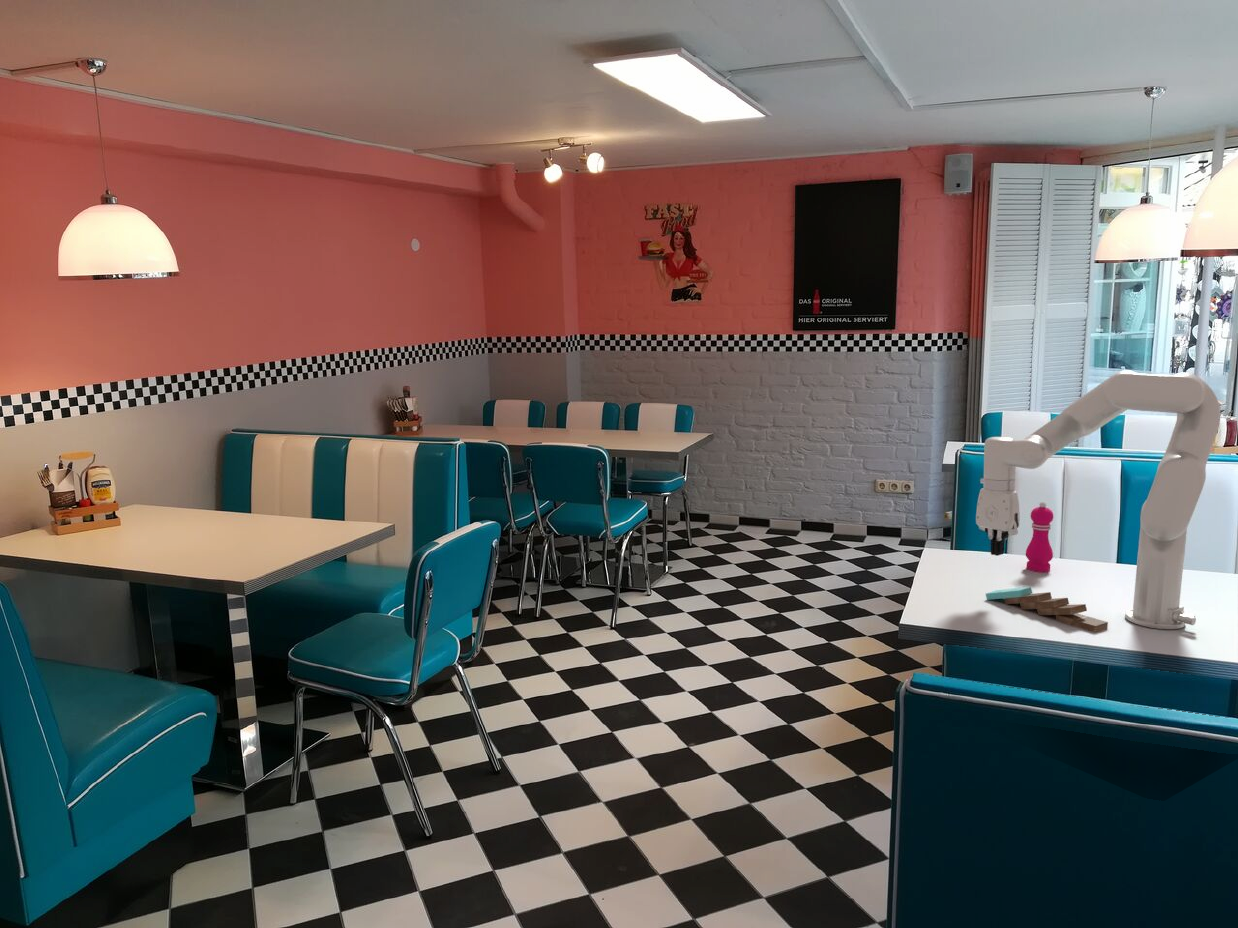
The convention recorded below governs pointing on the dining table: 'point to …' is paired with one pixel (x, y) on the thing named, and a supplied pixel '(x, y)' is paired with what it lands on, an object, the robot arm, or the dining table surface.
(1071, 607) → the domino
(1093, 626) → the domino
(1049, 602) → the domino
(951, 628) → the dining table surface
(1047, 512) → the pepper mill
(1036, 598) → the domino
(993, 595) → the domino
